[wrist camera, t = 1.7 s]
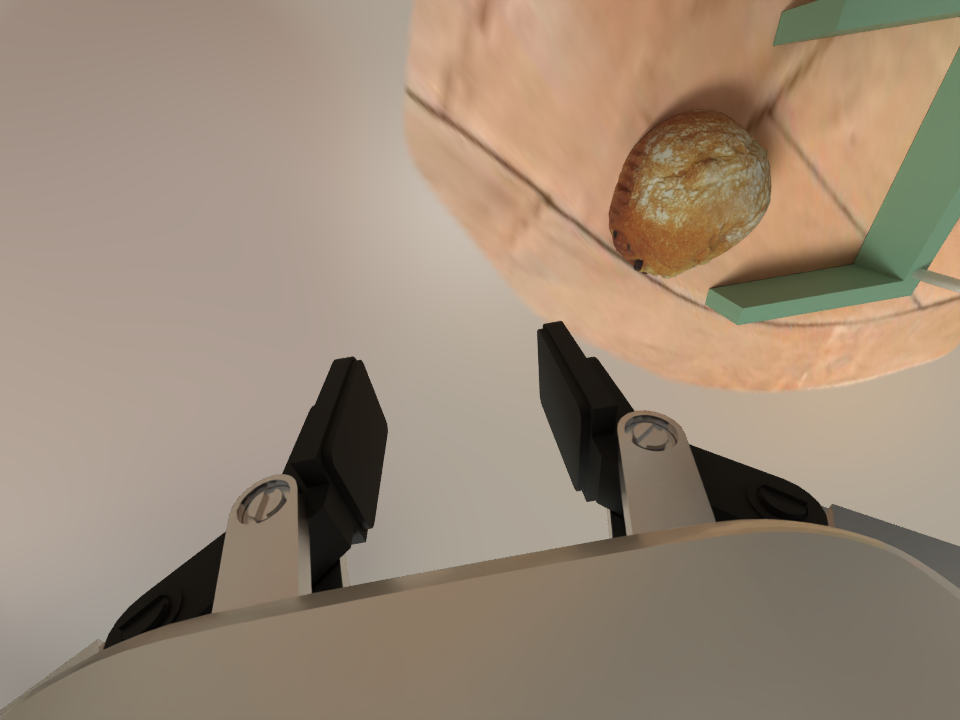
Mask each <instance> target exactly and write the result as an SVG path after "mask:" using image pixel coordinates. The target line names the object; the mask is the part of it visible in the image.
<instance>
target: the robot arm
mask: <svg viewBox="0 0 960 720" xmlns="http://www.w3.org/2000/svg"><path fill="white" fill-rule="evenodd" d="M537 340H538V364H539V387H540V399H541V404H542V407H543V409H544V412H545V414H546V417H547V420H548V422H549V425H550V427H551V430H552V432H553V435H554V438H555V440H556V443H557V445H558V448H559V450H560V453H561V455H562V458H563V461H564V463H565V465H566V468H567V471H568V473H569V476H570V478H571V481H572V484H573V486H574V488H575V490H576V491H581V490H582V492H583V494H584V496H585V499H586V501H587V502H589V501H595V500H596V502H597V503H598V504H600V505H602V506H604V507H606V508H607V515H608V526H609V538H610V539H605V540H600V541H594V542H589V543H583V544H578V545H572V546H566V547H561V548H555V549H549V550H544V551H539V552H533V553H527V554H522V555H516V556H511V557H505V558H500V559H494V560H489V561H483V562H478V563H472V564H467V565H462V566H456V567H451V568H446V569H440V570H434V571H429V572H424V573H418V574H412V575H407V576H402V577H397V578H391V579H386V580H380V581H375V582H370V583H364V584H359V585H354V586H350V585H349V578H348V569H347V561H346V555H345V553H346V552H347V551H348V550H349V549H350V548H351V545H352V544H358V543H363V542H366V538H367V531H368V529H371V528H373V526H374V522H375V515H376V509H377V502H378V495H379V488H380V481H381V475H382V467H383V461H384V454H385V447H386V441H387V434H388V427H387V422H386V419H385V417H384V414H383V412H382V409H381V407H380V404H379V402H378V399H377V396H376V394H375V391H374V389H373V386H372V384H371V382H370V379H369V376H368V374H367V371H366V369H365V366H364V364H363V362H362V360H356V359H355V357H347V358H341V359H336V360H334V361H333V363H332V365H331V368H330V370H329V373H328V375H327V377H326V380H325V382H324V384H323V387H322V389H321V391H320V394H319V396H318V399H317V401H316V404H315V405H314V406H312V408H311V409H310V411H309V413H308V416H307V418H306V420H305V422H304V425H303V427H302V429H301V432H300V434H299V436H298V439H297V441H296V443H295V446H294V448H293V450H292V453H291V455H290V457H289V460H288V462H287V464H286V466H285V469H284V471H283V473H282V474H280V475H279V474H278V475H273V476H269V477H266V478H264V479H262V480H260V481H258V482H256V483H255V484H253V485H252V486H251V487H249V488H248V489H246V491H244V492H243V493H242V495H241V496H239V497H238V499H237V500H236V502H235V503H234V505H233V506H232V508H231V511H230V514H229V518H228V524H227V529H226V532H225V533H223V534H222V535H221V536H219V537H218V538H217V539H216V540H214V541H213V542H211V543H210V544H209V545H208V546H206V547H205V548H204V549H202V550H201V551H200V552H198V553H197V554H196V555H195V556H193V557H192V558H191V559H189V560H188V561H187V562H185V563H184V564H183V565H181V566H180V567H179V568H178V569H176V570H175V571H174V572H172V573H171V574H170V575H168V576H167V577H166V578H165V579H163V580H162V581H161V582H159V583H158V584H157V585H155V586H154V587H153V588H151V589H150V590H149V591H148V592H146V593H145V594H144V595H142V596H141V597H140V598H139V599H138V600H137V601H135V602H134V603H133V604H132V605H131V606H130V607H129V608H128V609H127V610H126V611H125V612H124V613H123V615H122V616H121V617H120V618H119V619H118V620H117V622H116V623H115V625H114V627H113V628H112V630H111V631H110V633H109V635H108V637H107V640H106V641H105V642H103V641H101V640H99V639H97V640H96V641H95V642H93V643H92V644H90V645H89V646H88V647H87V648H85V649H84V650H82V651H81V652H80V653H78V654H77V655H76V656H74V657H73V658H71V659H70V660H69V661H67V662H66V663H64V664H63V665H62V666H60V667H59V668H58V669H56V670H55V671H54V672H52V673H51V674H49V676H47V677H45V678H44V679H43V680H41V681H40V682H38V683H37V684H36V685H34V686H33V687H32V688H30V689H29V690H27V691H26V692H25V693H24V694H22V695H21V696H19V697H18V698H17V699H15V700H14V701H12V702H11V703H10V704H8V705H7V706H6V707H4V708H3V709H2V710H0V720H960V546H957V545H954V544H951V543H948V542H945V541H942V540H939V539H936V538H933V537H930V536H927V535H924V534H921V533H918V532H915V531H912V530H909V529H906V528H903V527H900V526H897V525H894V524H891V523H888V522H885V521H882V520H879V519H876V518H873V517H870V516H867V515H864V514H861V513H858V512H855V511H852V510H849V509H846V508H843V507H840V506H837V505H834V504H832V505H831V506H830V507H829V508H826V507H823V506H821V505H820V504H819V502H818V501H816V500H815V499H814V498H813V497H812V496H811V495H810V494H809V493H808V492H806V491H805V490H803V489H802V488H800V487H799V486H797V485H795V484H793V483H791V482H789V481H787V480H785V479H782V478H780V477H777V476H774V475H771V474H768V473H766V472H763V471H760V470H758V469H755V468H752V467H750V466H747V465H744V464H741V463H738V462H736V461H733V460H730V459H728V458H725V457H722V456H720V455H717V454H714V453H711V452H709V451H706V450H703V449H701V448H698V447H695V446H692V445H690V444H689V443H688V441H687V437H686V435H685V433H684V431H683V429H682V427H681V426H680V425H679V424H678V423H676V422H675V421H674V420H673V419H671V418H669V417H668V416H666V415H663V414H660V413H657V412H653V411H646V410H645V411H634V410H633V408H632V407H631V405H630V404H629V402H628V401H627V400H626V398H625V397H624V395H623V394H622V393H621V391H620V390H619V388H618V387H617V386H616V384H615V383H614V381H613V380H612V378H611V377H610V376H609V374H608V373H607V371H606V370H605V369H604V367H603V366H602V365H601V363H600V361H599V360H598V359H597V358H596V357H589V358H586V357H585V355H584V354H583V352H582V351H581V349H580V347H579V346H578V344H577V343H576V341H575V340H574V338H573V337H572V335H571V334H570V332H569V331H568V329H567V328H566V326H565V325H564V323H563V322H562V321H558V322H552V323H546V324H543V329H538V331H537Z"/></svg>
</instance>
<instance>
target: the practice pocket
mask: <svg viewBox="0 0 960 720" xmlns="http://www.w3.org/2000/svg"><path fill="white" fill-rule="evenodd" d="M954 17H960V0H817V1H814V2H811V3H808V4H805V5H802V6H799V7H796V8H793V9H790V10H787V11H784V12H782V14H781V18H780V22H779V25H778V29H777V33H776V37H775V41H774V44H773V46H775V45H782V44H788V43H794V42H801V41H807V40H814V39H820V38H826V37H833V36H839V35H846V34H852V33H858V32H865V31H871V30H877V29H884V28H890V27H897V26H903V25H909V24H916V23H922V22H928V21H935V20H941V19H948V18H954ZM959 217H960V48H959V50H958V52H957V54H956V56H955V58H954V60H953V62H952V64H951V66H950V68H949V70H948V72H947V74H946V76H945V78H944V80H943V82H942V84H941V86H940V88H939V90H938V92H937V95H936V97H935V99H934V101H933V103H932V105H931V107H930V109H929V111H928V113H927V115H926V117H925V119H924V121H923V123H922V125H921V127H920V129H919V131H918V133H917V135H916V137H915V139H914V141H913V143H912V145H911V147H910V149H909V151H908V153H907V155H906V157H905V159H904V162H903V164H902V166H901V168H900V170H899V172H898V174H897V176H896V178H895V180H894V182H893V184H892V186H891V188H890V190H889V192H888V194H887V196H886V198H885V200H884V202H883V204H882V206H881V208H880V210H879V212H878V214H877V216H876V218H875V220H874V222H873V224H872V226H871V229H870V231H869V233H868V235H867V237H866V239H865V241H864V243H863V245H862V247H861V249H860V251H859V253H858V255H857V257H856V259H855V261H854V263H853V264H851V265H846V266H840V267H834V268H828V269H822V270H816V271H810V272H804V273H799V274H793V275H787V276H781V277H775V278H769V279H763V280H757V281H752V282H746V283H740V284H734V285H728V286H722V287H716V288H710V289H709V292H708V296H707V300H706V303H705V304H706V305H707V306H709V307H710V308H712V309H713V310H715V311H716V312H718V313H719V314H721V315H723V316H724V317H726V318H727V319H729V320H730V321H732V322H733V323H735V324H736V325H742V324H748V323H754V322H759V321H765V320H771V319H777V318H782V317H788V316H794V315H800V314H806V313H811V312H817V311H823V310H829V309H835V308H840V307H846V306H852V305H858V304H864V303H869V302H875V301H881V300H887V299H893V298H898V297H904V296H910V295H912V293H913V291H914V290H915V288H916V287H917V285H918V283H919V282H920V281H923V282H926V283H929V284H932V285H935V286H938V287H941V288H945V289H948V290H951V291H954V292H957V293H960V280H959V279H956V278H952V277H949V276H946V275H942V274H939V273H935V272H932V271H928V270H927V269H928V267H929V266H930V264H931V262H932V261H933V259H934V258H935V256H936V254H937V253H938V251H939V250H940V248H941V246H942V245H943V243H944V242H945V240H946V238H947V237H948V235H949V233H950V232H951V230H952V229H953V227H954V225H955V224H956V222H957V221H958V219H959Z"/></svg>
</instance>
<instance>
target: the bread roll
mask: <svg viewBox="0 0 960 720" xmlns="http://www.w3.org/2000/svg"><path fill="white" fill-rule="evenodd" d="M770 196H771V176H770V164H769V162H768V160H767V151H766V150H764V149H763V148H762V147H761V146H760V145H759V144H758V143H757V141H753V137H752V136H751V135H750V134H749V133H748V132H747V131H746V130H745V129H744V128H743V127H742V126H741V125H739V124H737V123H736V122H735V121H734V120H733V119H732V118H730V117H728V116H727V115H725V114H723V113H720V112H716V111H712V110H693V111H688V112H685V113H682V114H679V115H676V116H674V117H672V118H670V119H668V120H666V121H664V122H663V123H661V124H660V125H658V126H656V127H655V128H654V129H653V130H652V131H651V132H649V133H648V134H647V135H646V136H645V137H644V138H643V139H642V140H641V141H640V142H639V143H638V144H637V145H636V146H635V147H634V148H633V150H632V151H631V153H630V154H629V156H628V157H627V159H626V161H625V163H624V165H623V168H622V172H621V173H620V175H619V180H618V183H617V185H616V187H615V191H614V195H613V199H612V202H611V206H610V210H609V229H610V232H611V234H612V238H613V243H614V246H615V248H616V250H617V252H619V253H620V254H621V255H622V256H623V257H624V258H625V259H626V260H627V261H628V262H630V263H631V264H632V265H634V270H636V271H638V272H642V273H644V274H647V273H650V274H652V275H654V276H656V277H657V276H658V274H659V275H661V276H662V278H668V279H669V278H671V277H675V276H676V275H677V274H681V273H683V272H684V271H686V270H688V269H691V268H692V267H693V268H694V267H696V266H697V265H704V264H706V263H708V262H709V261H711V260H712V259H713V258H715V257H717V256H719V255H721V254H722V253H724V252H726V251H727V250H729V249H730V248H732V247H733V246H735V245H736V244H737V243H739V242H740V241H741V240H742V239H744V238H745V237H746V236H747V235H748V234H749V233H750V232H751V231H752V230H753V229H754V228H755V227H756V226H757V225H758V224H759V222H760V221H761V219H762V218H763V216H764V214H765V213H766V211H767V208H768V206H769V203H770Z"/></svg>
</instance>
